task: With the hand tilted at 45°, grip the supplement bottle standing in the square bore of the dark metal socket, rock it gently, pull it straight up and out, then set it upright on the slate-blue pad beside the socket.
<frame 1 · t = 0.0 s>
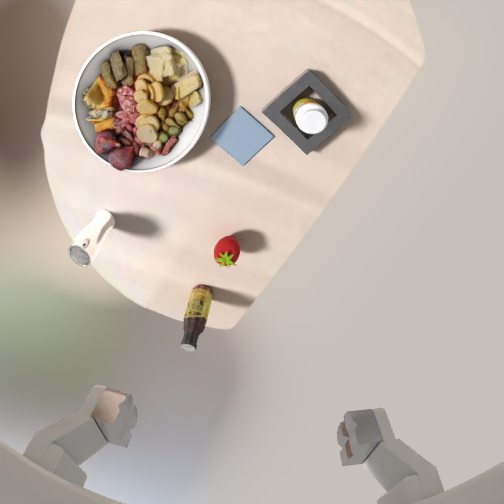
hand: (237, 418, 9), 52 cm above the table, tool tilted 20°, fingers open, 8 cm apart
sauce bottle: (202, 290, 83), on the table
beer glass: (105, 218, 68), on the table
supplement bottle: (306, 109, 49), resting in socket housing
bowl: (143, 99, 48), on the table
socket housing: (306, 110, 48), on the table
strawberry: (229, 237, 70), on the table
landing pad: (241, 136, 53), on the table
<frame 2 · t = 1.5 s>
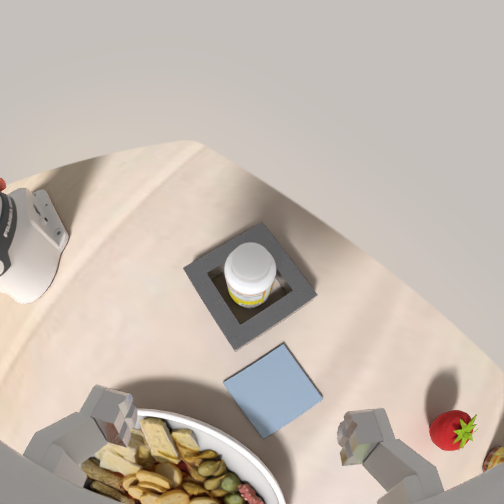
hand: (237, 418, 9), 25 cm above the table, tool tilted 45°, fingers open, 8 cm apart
sauce bottle: (490, 461, 24), on the table
supplement bottle: (249, 289, 37), resting in socket housing
bowl: (170, 500, 25), on the table
socket housing: (249, 288, 37), on the table
strawberry: (431, 426, 29), on the table
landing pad: (273, 392, 32), on the table
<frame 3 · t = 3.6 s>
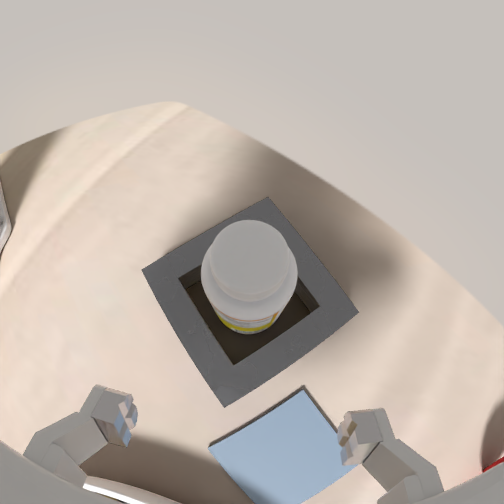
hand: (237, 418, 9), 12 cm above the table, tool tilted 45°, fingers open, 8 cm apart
supplement bottle: (247, 303, 23), resting in socket housing
socket housing: (247, 302, 23), on the table
strawberry: (484, 469, 15), on the table
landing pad: (286, 459, 18), on the table
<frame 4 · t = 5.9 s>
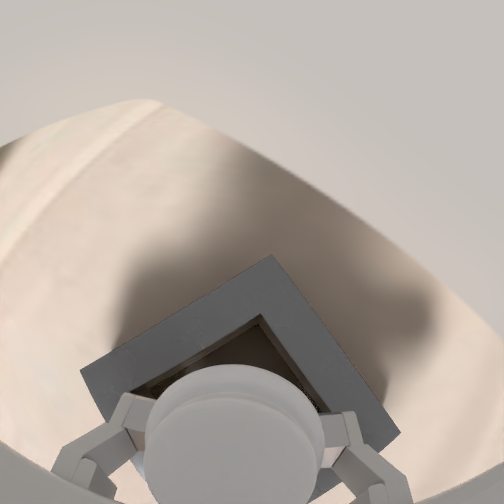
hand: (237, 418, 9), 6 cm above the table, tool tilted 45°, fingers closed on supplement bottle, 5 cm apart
supplement bottle: (239, 411, 14), resting in socket housing, touching gripper
socket housing: (239, 412, 14), on the table
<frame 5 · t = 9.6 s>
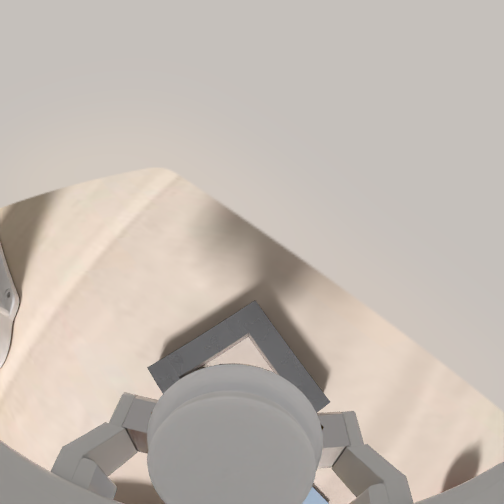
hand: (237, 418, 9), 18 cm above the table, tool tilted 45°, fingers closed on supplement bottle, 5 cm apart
supplement bottle: (238, 410, 14), point 12 cm above the table, touching gripper
socket housing: (238, 387, 25), on the table
when the fingers open (7 cm above the table, at t = 13.4 s): supplement bottle stays where it is, resting on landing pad.
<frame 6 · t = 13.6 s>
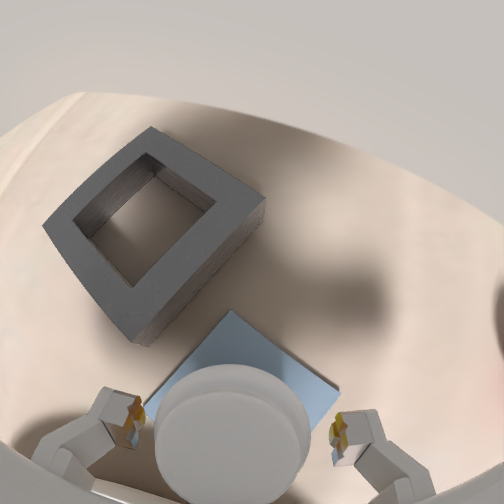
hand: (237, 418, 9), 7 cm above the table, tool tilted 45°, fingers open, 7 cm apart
supplement bottle: (237, 408, 15), resting on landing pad
socket housing: (149, 231, 20), on the table
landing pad: (240, 407, 16), on the table
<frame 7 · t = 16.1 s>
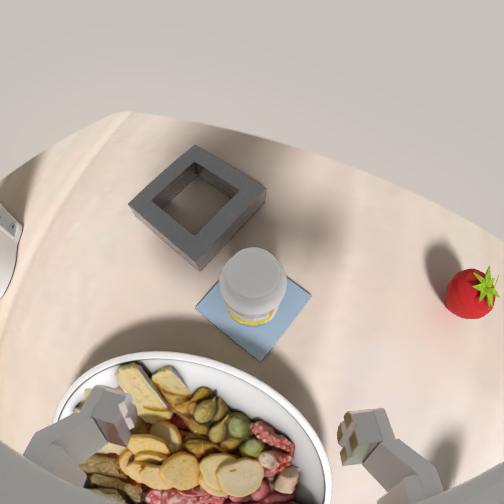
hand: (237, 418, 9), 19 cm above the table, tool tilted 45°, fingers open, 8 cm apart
supplement bottle: (252, 303, 30), resting on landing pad
bowl: (184, 477, 23), on the table
socket housing: (198, 208, 35), on the table
strawberry: (447, 305, 30), on the table
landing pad: (253, 303, 30), on the table
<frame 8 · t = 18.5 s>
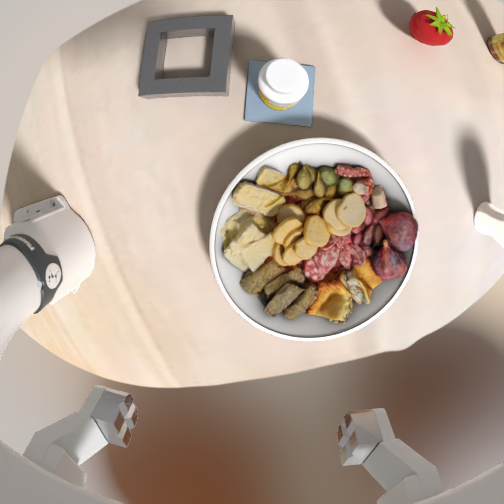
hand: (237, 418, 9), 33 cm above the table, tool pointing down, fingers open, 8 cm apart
sauce bottle: (496, 51, 25), on the table
beer glass: (483, 217, 38), on the table
supplement bottle: (279, 92, 33), resting on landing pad
bowl: (315, 240, 42), on the table
socket housing: (189, 58, 32), on the table
strawberry: (415, 37, 28), on the table
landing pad: (280, 92, 34), on the table
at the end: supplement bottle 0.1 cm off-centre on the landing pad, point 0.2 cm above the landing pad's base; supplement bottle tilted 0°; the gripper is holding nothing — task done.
